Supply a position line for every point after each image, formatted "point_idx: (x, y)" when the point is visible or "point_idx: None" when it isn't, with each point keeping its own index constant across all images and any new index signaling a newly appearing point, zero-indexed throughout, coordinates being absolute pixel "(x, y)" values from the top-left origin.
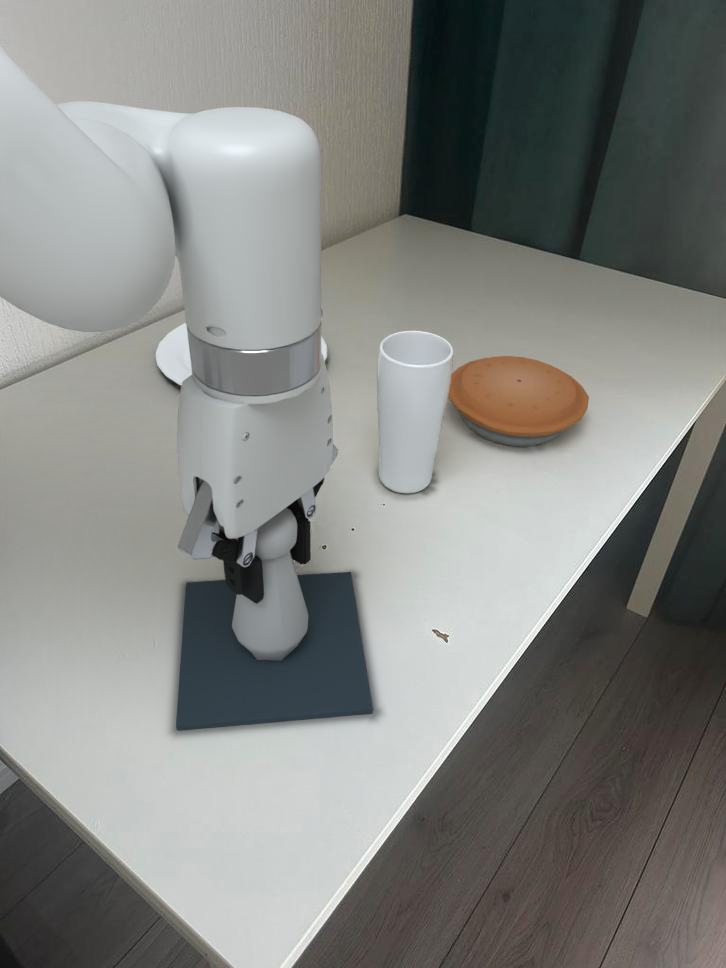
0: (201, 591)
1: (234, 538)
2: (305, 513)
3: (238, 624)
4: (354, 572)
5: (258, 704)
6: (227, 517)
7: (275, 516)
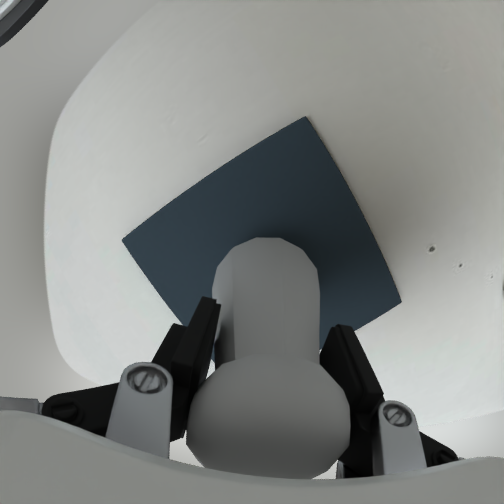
0: (300, 144)
1: (179, 407)
2: (337, 472)
3: (219, 274)
4: (405, 299)
5: (183, 302)
6: None
7: (277, 477)
